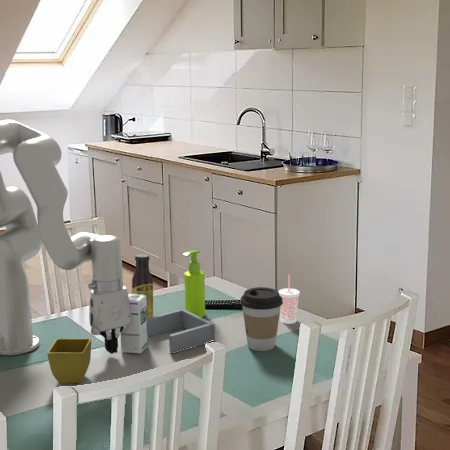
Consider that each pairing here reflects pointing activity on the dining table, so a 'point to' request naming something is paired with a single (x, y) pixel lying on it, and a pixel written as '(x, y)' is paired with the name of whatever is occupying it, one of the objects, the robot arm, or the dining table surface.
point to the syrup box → (136, 326)
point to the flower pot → (69, 359)
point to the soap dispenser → (194, 286)
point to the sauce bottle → (143, 281)
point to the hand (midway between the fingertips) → (111, 351)
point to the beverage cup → (289, 304)
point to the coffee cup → (261, 317)
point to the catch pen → (194, 336)
